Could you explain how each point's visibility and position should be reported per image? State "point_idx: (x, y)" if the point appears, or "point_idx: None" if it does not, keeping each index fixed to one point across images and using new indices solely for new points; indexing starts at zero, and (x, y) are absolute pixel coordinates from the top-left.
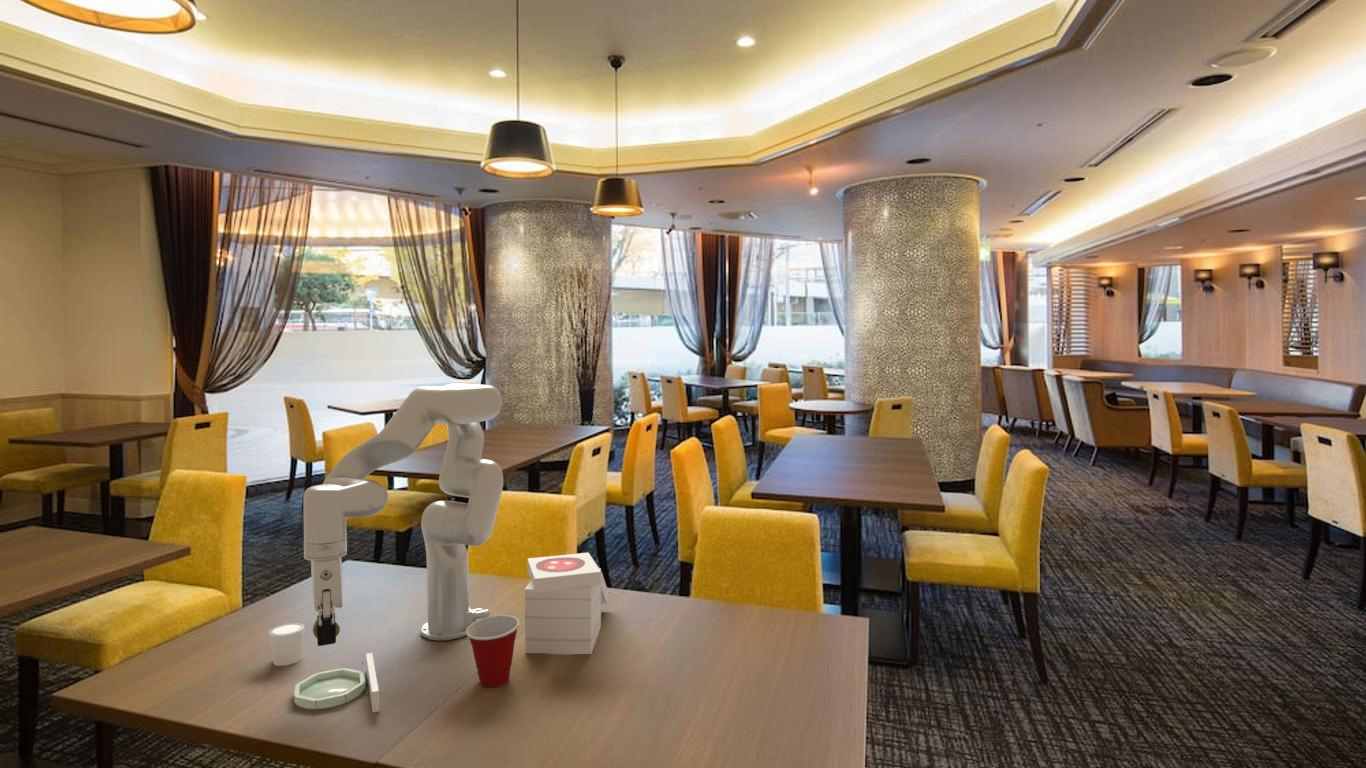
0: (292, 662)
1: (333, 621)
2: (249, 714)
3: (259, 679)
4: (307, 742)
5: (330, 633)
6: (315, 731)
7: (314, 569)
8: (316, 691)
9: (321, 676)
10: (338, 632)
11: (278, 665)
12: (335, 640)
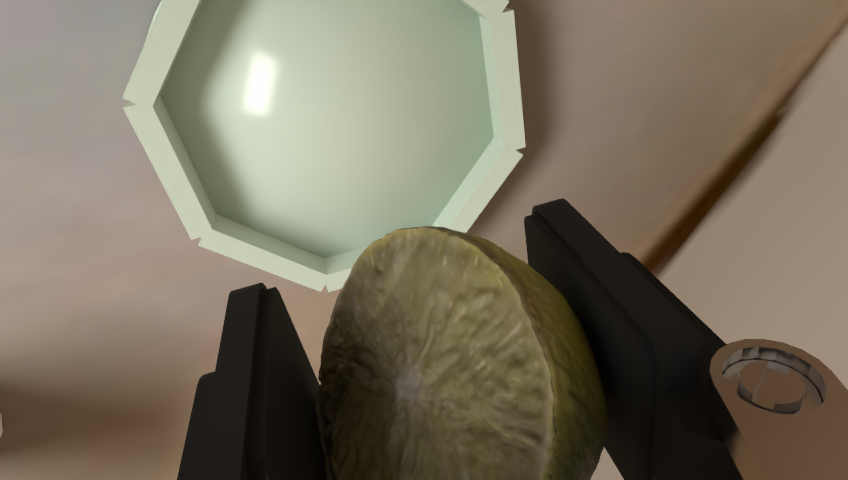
0: None
1: (834, 384)
2: None
3: (156, 438)
4: (752, 97)
5: (673, 299)
6: (687, 87)
7: None
8: (351, 182)
9: (205, 204)
10: (462, 233)
11: (1, 431)
12: (574, 209)
